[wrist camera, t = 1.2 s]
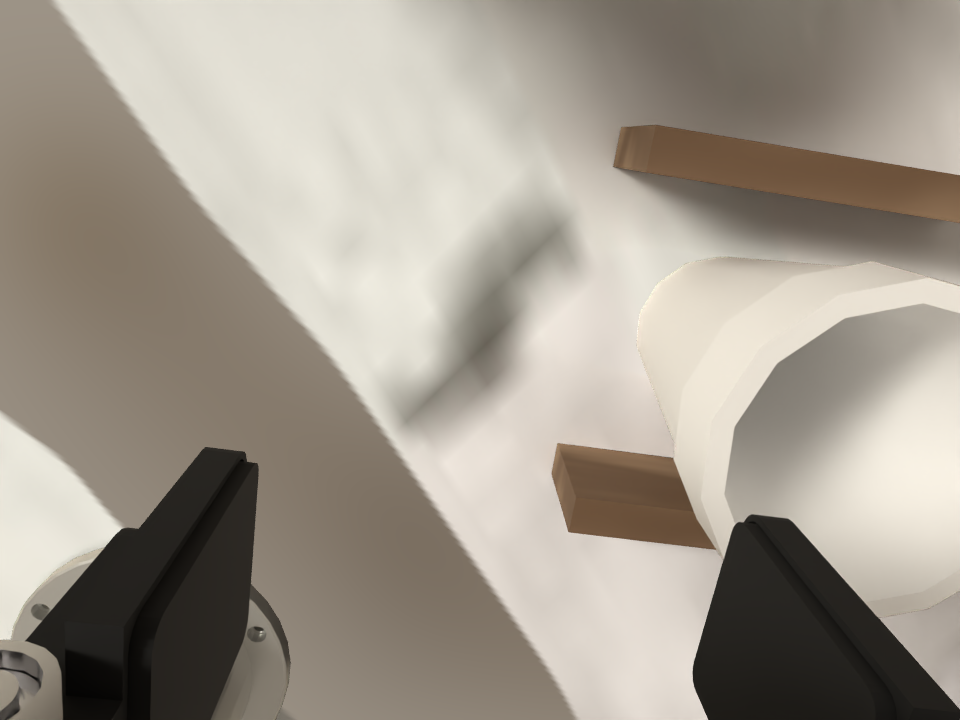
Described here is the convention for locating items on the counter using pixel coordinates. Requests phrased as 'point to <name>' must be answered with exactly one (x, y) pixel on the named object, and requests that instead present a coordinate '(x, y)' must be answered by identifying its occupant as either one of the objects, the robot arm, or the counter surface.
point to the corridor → (745, 164)
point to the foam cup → (818, 412)
